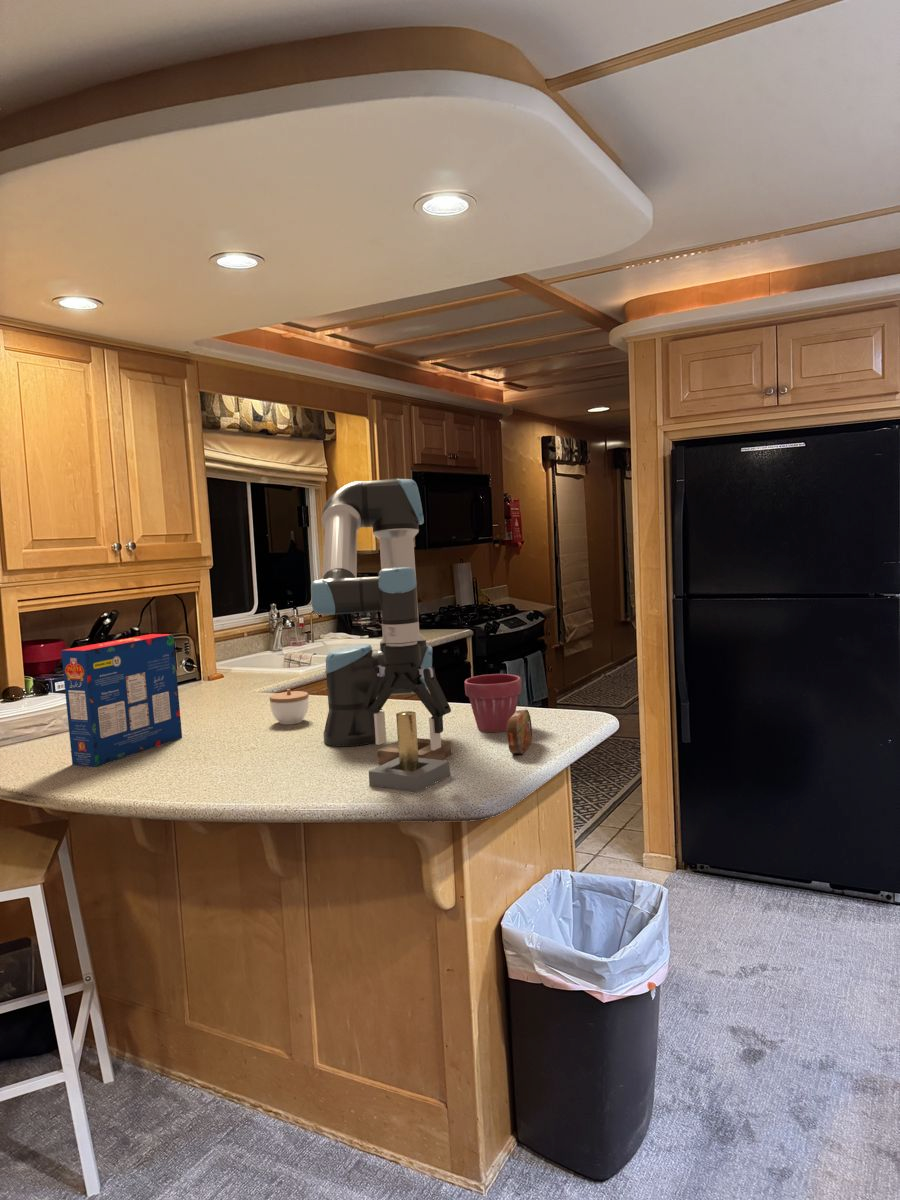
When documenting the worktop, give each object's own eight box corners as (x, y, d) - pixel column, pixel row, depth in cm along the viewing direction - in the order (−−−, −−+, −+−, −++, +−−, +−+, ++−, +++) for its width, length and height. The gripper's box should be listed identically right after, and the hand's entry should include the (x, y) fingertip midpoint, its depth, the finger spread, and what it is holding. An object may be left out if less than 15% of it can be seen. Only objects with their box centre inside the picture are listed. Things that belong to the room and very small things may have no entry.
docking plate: (369, 785, 169) (368, 771, 168) (402, 769, 179) (401, 755, 179) (418, 792, 162) (417, 777, 162) (450, 775, 173) (449, 760, 172)
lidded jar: (318, 719, 234) (315, 686, 233) (291, 728, 225) (289, 694, 224) (290, 716, 240) (287, 684, 239) (263, 725, 231) (260, 691, 230)
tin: (520, 758, 182) (518, 721, 181) (506, 758, 183) (504, 720, 182) (533, 741, 196) (531, 706, 196) (520, 740, 197) (518, 706, 197)
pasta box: (160, 736, 224) (150, 634, 222) (182, 737, 221) (173, 634, 219) (72, 764, 199) (61, 650, 197) (95, 767, 196) (84, 650, 194)
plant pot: (461, 735, 206) (458, 684, 205) (473, 721, 220) (470, 674, 218) (518, 735, 202) (515, 683, 201) (527, 721, 216) (524, 673, 215)
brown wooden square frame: (378, 763, 185) (377, 750, 184) (408, 749, 195) (407, 737, 195) (423, 768, 178) (422, 755, 178) (451, 754, 189) (450, 741, 188)
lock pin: (396, 782, 170) (392, 715, 169) (407, 776, 173) (403, 710, 172) (412, 784, 168) (408, 716, 167) (423, 778, 171) (419, 711, 170)
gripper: (341, 644, 172) (348, 745, 173) (444, 647, 159) (450, 755, 160) (363, 639, 178) (370, 736, 180) (463, 641, 165) (469, 746, 167)
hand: (408, 745), depth 170 cm, fingers open, 13 cm apart
